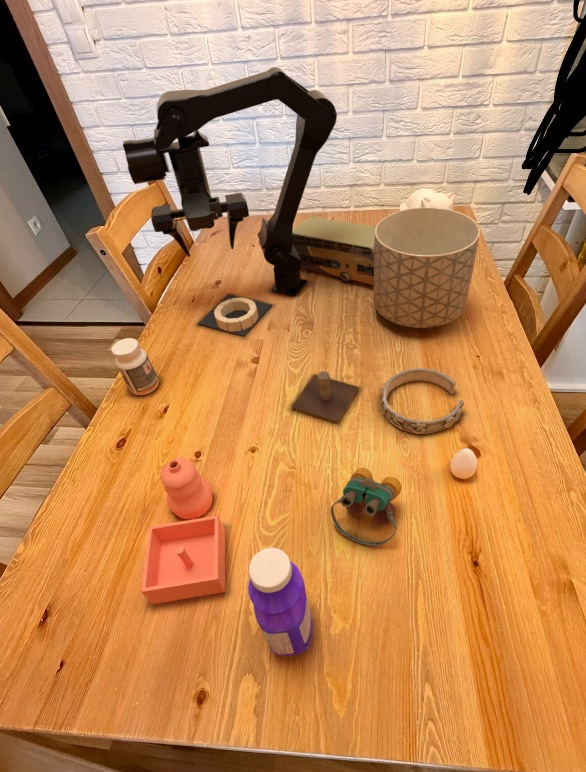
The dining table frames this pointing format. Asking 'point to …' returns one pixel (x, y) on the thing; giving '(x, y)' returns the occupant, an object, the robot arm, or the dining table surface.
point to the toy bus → (336, 248)
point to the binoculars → (369, 500)
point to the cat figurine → (429, 200)
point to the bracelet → (415, 425)
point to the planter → (424, 265)
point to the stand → (325, 398)
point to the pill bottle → (135, 366)
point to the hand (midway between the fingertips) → (210, 252)
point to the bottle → (280, 602)
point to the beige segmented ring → (236, 323)
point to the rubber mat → (234, 316)
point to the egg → (464, 463)
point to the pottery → (185, 541)
